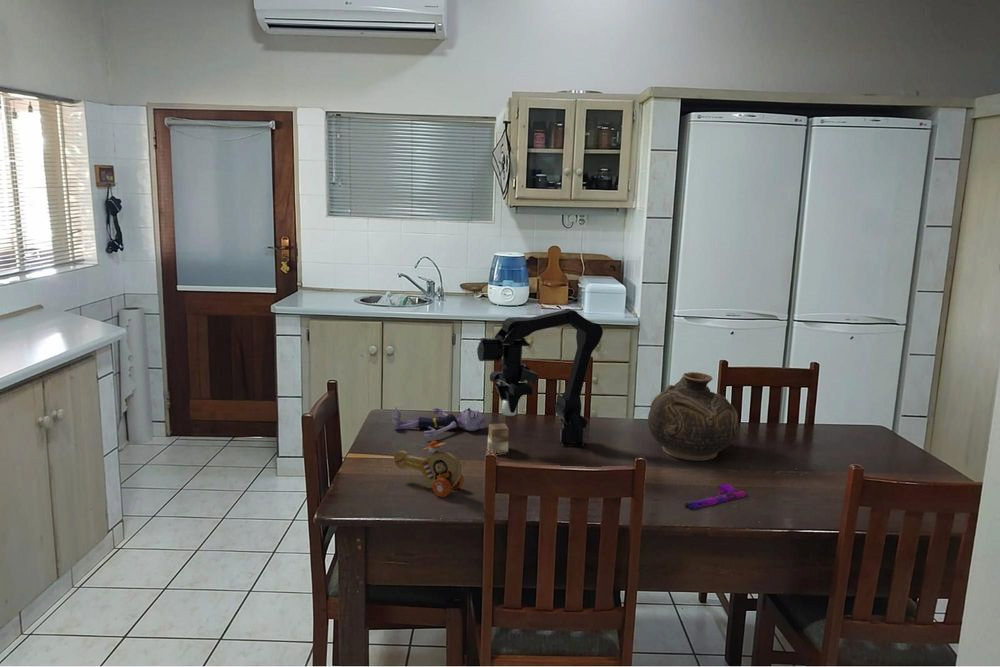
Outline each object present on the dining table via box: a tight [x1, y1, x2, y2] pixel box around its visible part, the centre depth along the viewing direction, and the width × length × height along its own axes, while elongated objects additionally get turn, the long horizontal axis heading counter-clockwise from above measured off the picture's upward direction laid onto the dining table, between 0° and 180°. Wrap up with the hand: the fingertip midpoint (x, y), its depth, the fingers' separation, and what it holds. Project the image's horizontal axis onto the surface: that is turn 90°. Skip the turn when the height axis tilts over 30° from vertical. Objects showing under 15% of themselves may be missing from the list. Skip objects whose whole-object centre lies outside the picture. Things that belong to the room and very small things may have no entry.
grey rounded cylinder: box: [501, 399, 517, 417], centre depth 228 cm, size 4×4×4 cm
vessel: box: [647, 371, 740, 462], centre depth 231 cm, size 27×28×25 cm
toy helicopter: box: [393, 440, 464, 498], centre depth 200 cm, size 8×21×14 cm, turn 61°
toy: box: [391, 406, 487, 439], centre depth 248 cm, size 26×9×30 cm
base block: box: [487, 435, 509, 453], centre depth 229 cm, size 6×6×4 cm
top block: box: [488, 423, 509, 442], centre depth 228 cm, size 5×5×4 cm
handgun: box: [684, 482, 746, 511], centre depth 199 cm, size 21×8×2 cm, turn 120°
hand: (509, 410), depth 228 cm, fingers closed on grey rounded cylinder, 4 cm apart
